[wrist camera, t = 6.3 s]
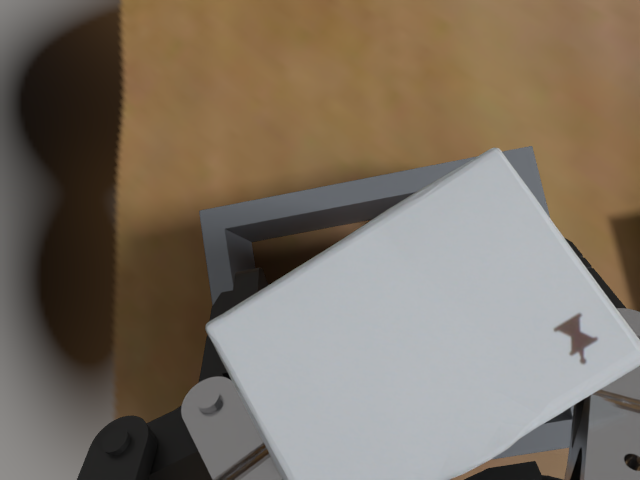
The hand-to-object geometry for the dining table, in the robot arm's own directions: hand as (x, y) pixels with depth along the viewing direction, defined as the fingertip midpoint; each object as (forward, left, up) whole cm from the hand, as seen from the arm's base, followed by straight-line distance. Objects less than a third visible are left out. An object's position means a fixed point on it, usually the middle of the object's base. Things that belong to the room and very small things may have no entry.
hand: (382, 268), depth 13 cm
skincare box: (+2, 0, -6) cm, 6 cm away
